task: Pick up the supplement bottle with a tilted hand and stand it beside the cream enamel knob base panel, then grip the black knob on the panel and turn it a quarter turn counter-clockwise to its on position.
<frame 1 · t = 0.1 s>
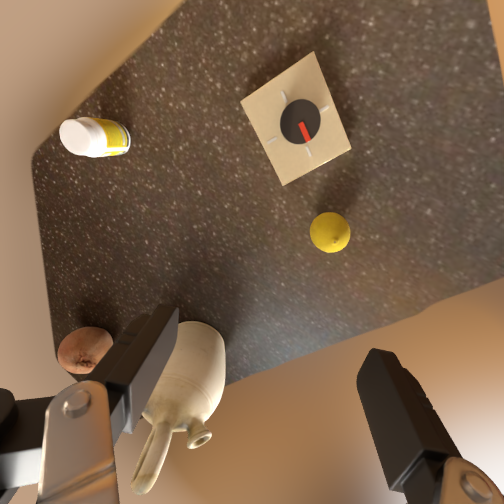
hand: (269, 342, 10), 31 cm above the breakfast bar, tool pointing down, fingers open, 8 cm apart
jug: (197, 341, 53), on the breakfast bar
onion: (101, 334, 55), on the breakfast bar
supplement bottle: (117, 138, 38), on the breakfast bar
knob base panel: (295, 126, 35), on the breakfast bar
hob knob: (298, 123, 29), point 6 cm above the breakfast bar, hinge at 0.0°
lemon: (324, 223, 40), on the breakfast bar
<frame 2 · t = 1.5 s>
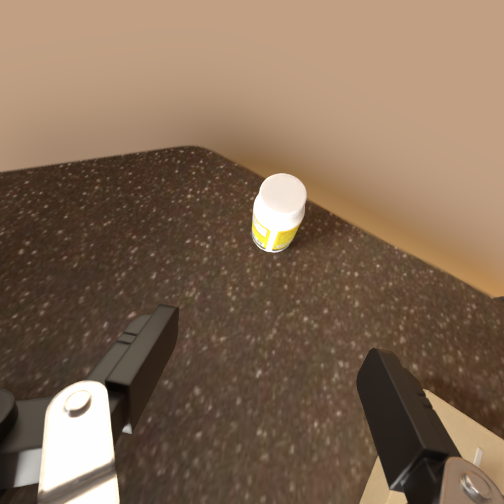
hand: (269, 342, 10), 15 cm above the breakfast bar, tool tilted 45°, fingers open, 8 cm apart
supplement bottle: (271, 234, 29), on the breakfast bar
knob base panel: (433, 485, 21), on the breakfast bar
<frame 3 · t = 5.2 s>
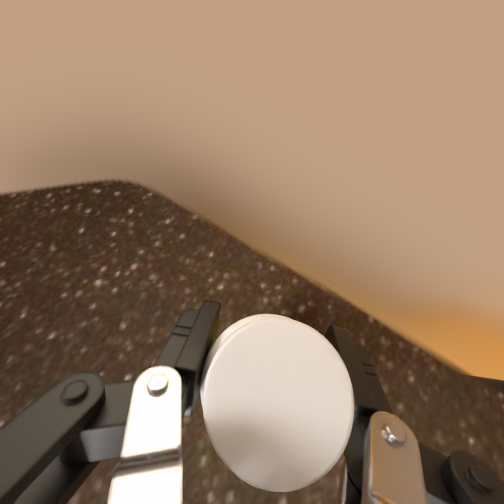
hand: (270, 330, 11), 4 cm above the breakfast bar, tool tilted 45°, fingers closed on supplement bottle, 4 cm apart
supplement bottle: (256, 366, 14), on the breakfast bar, touching gripper
when the fingers open (4 cm above the breakfast bar, at t = 11.6 s): supplement bottle stays where it is, on the breakfast bar.
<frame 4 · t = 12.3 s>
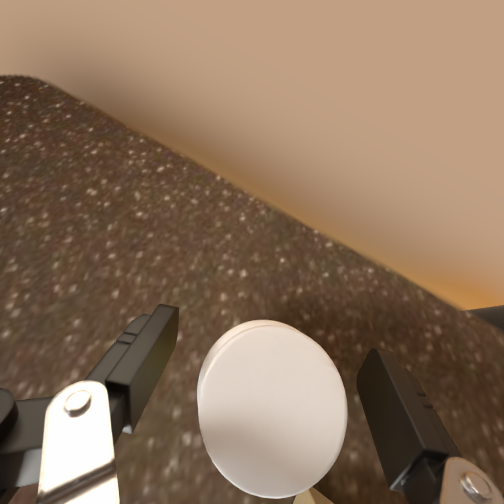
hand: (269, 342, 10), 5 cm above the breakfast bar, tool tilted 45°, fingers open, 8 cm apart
supplement bottle: (254, 369, 15), on the breakfast bar
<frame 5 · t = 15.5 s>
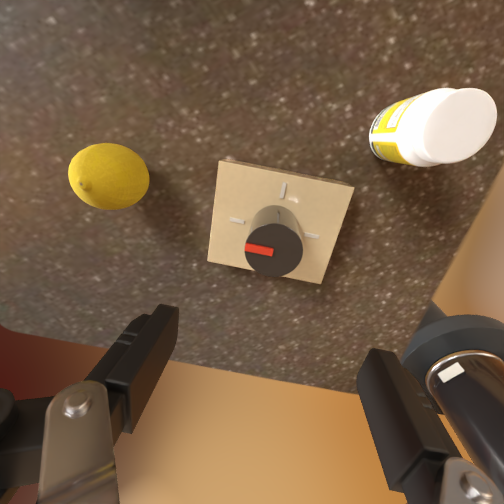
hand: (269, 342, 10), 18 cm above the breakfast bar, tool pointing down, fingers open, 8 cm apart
supplement bottle: (395, 132, 22), on the breakfast bar
knob base panel: (274, 218, 26), on the breakfast bar
hob knob: (273, 239, 21), point 6 cm above the breakfast bar, hinge at 0.0°
lemon: (137, 171, 26), on the breakfast bar
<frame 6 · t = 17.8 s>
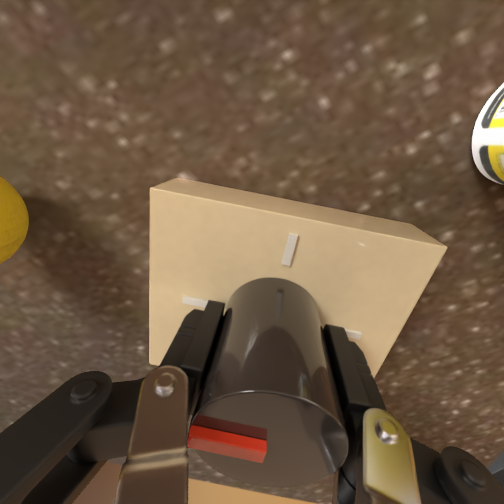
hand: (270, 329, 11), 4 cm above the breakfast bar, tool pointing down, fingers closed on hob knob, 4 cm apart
knob base panel: (272, 283, 15), on the breakfast bar
hob knob: (269, 367, 9), point 6 cm above the breakfast bar, hinge at -0.1°, touching gripper
lemon: (21, 199, 14), on the breakfast bar
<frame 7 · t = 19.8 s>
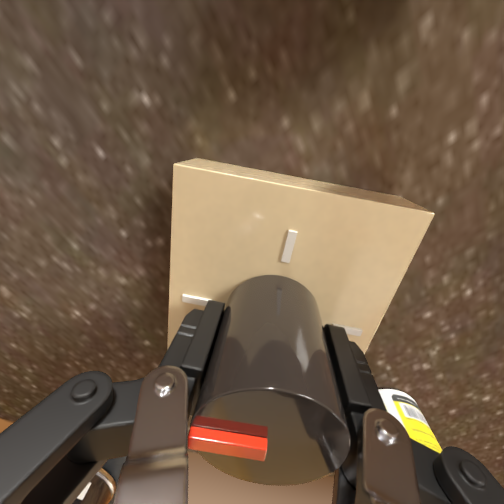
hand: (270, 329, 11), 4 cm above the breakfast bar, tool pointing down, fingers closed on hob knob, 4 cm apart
supplement bottle: (380, 405, 18), on the breakfast bar
knob base panel: (272, 281, 15), on the breakfast bar
hob knob: (270, 365, 9), point 6 cm above the breakfast bar, hinge at 93.5°, touching gripper
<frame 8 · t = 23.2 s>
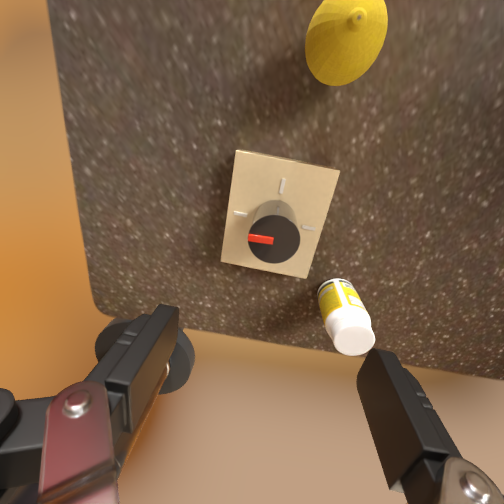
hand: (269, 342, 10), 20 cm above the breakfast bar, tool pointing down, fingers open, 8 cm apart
supplement bottle: (335, 292, 32), on the breakfast bar
knob base panel: (274, 213, 29), on the breakfast bar
hob knob: (274, 230, 23), point 6 cm above the breakfast bar, hinge at 93.2°
lemon: (332, 57, 22), on the breakfast bar
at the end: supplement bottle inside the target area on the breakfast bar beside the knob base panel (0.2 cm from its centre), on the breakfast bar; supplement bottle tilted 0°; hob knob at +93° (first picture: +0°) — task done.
